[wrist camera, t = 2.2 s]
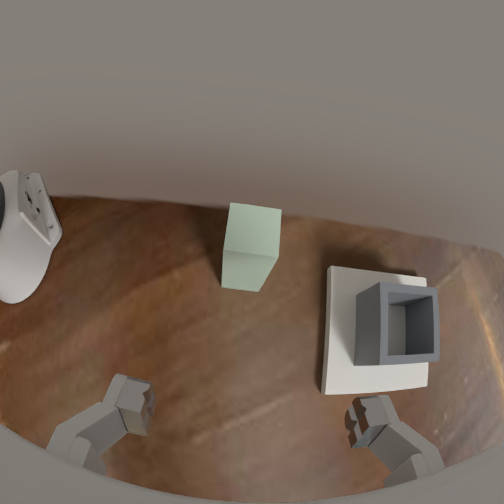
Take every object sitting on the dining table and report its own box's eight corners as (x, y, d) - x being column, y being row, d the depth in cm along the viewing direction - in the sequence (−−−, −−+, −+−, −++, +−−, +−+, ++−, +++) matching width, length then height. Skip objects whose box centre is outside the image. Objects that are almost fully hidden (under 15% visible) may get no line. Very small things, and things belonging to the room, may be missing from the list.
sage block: (258, 291, 34) (278, 257, 23) (221, 287, 34) (223, 249, 23) (261, 257, 36) (281, 209, 25) (226, 252, 35) (230, 202, 24)
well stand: (420, 385, 31) (455, 385, 24) (320, 393, 30) (346, 400, 23) (420, 280, 37) (451, 264, 30) (327, 269, 36) (351, 247, 29)
